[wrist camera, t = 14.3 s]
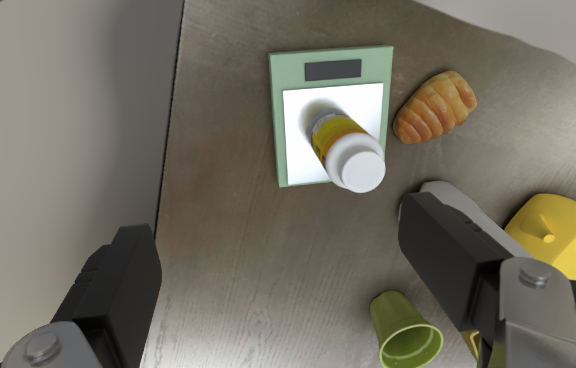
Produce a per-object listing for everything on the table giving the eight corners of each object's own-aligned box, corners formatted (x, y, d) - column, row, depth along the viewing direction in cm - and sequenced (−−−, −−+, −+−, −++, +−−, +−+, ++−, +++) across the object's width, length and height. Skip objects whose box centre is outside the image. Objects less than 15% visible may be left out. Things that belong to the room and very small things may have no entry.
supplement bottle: (299, 132, 38) (320, 169, 29) (340, 101, 37) (375, 128, 28) (326, 168, 41) (354, 212, 31) (365, 139, 40) (405, 176, 31)
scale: (267, 52, 37) (270, 55, 34) (384, 44, 38) (395, 46, 36) (276, 179, 44) (279, 189, 41) (376, 168, 45) (384, 178, 42)
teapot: (487, 265, 56) (537, 314, 47) (490, 198, 50) (549, 239, 41) (567, 242, 56) (632, 287, 47) (580, 173, 50) (657, 208, 41)
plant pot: (363, 283, 54) (385, 328, 46) (420, 279, 55) (450, 322, 47) (355, 327, 58) (374, 375, 50) (408, 322, 59) (435, 368, 51)
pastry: (406, 152, 45) (420, 163, 41) (379, 113, 42) (392, 121, 38) (469, 105, 43) (489, 112, 40) (445, 61, 40) (465, 65, 37)
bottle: (439, 163, 46) (725, 366, 19) (464, 208, 50) (730, 429, 23) (382, 202, 47) (574, 442, 21) (410, 243, 51) (603, 489, 25)
